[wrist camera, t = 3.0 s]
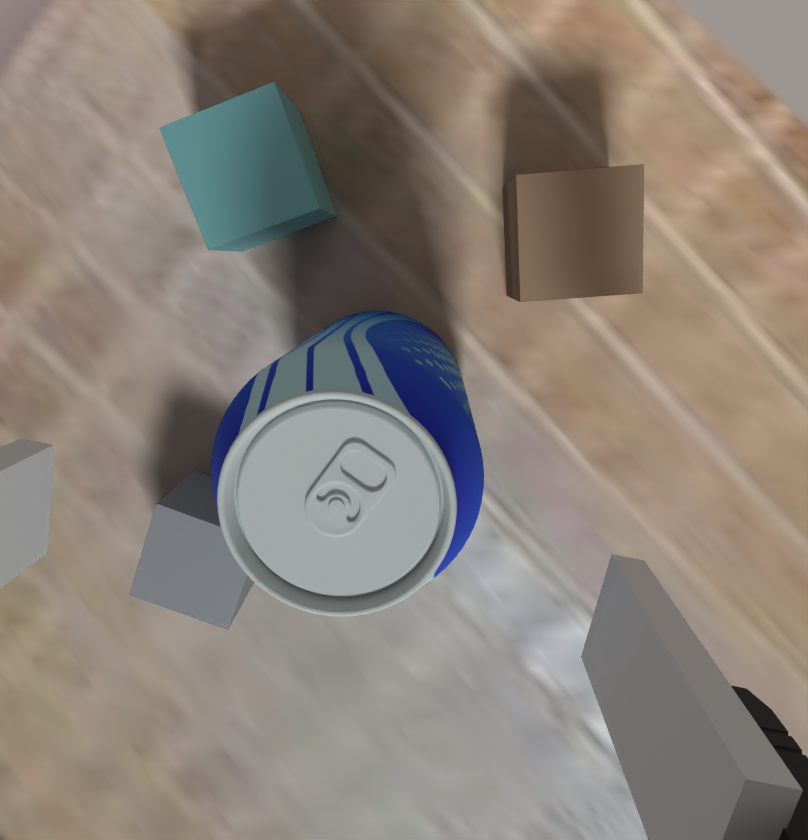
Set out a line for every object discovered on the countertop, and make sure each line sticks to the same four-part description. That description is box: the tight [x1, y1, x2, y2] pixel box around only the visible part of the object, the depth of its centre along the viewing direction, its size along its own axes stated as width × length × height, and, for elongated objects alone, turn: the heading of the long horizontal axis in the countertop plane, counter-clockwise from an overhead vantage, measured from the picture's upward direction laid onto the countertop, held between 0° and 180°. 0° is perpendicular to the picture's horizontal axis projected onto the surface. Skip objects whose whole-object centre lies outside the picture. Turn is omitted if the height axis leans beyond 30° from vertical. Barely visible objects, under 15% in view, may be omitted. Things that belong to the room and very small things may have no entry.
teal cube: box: [159, 82, 337, 252], centre depth 28 cm, size 5×5×5 cm
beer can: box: [211, 311, 484, 616], centre depth 25 cm, size 8×8×16 cm
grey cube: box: [129, 470, 254, 630], centre depth 33 cm, size 5×5×5 cm
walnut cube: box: [503, 164, 644, 302], centre depth 29 cm, size 5×5×5 cm
